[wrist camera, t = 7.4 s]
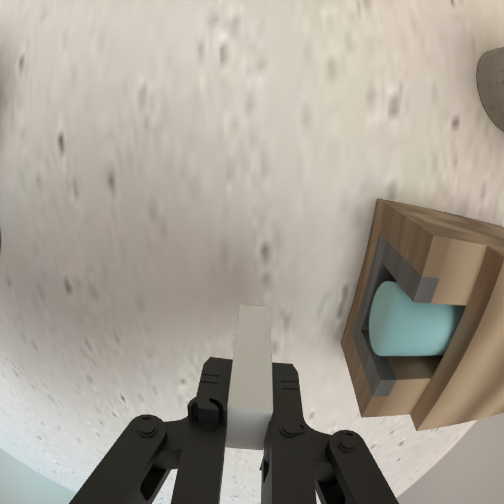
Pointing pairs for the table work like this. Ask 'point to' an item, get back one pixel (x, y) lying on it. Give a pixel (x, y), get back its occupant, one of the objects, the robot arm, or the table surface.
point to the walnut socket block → (435, 292)
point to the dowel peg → (410, 324)
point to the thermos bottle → (492, 84)
